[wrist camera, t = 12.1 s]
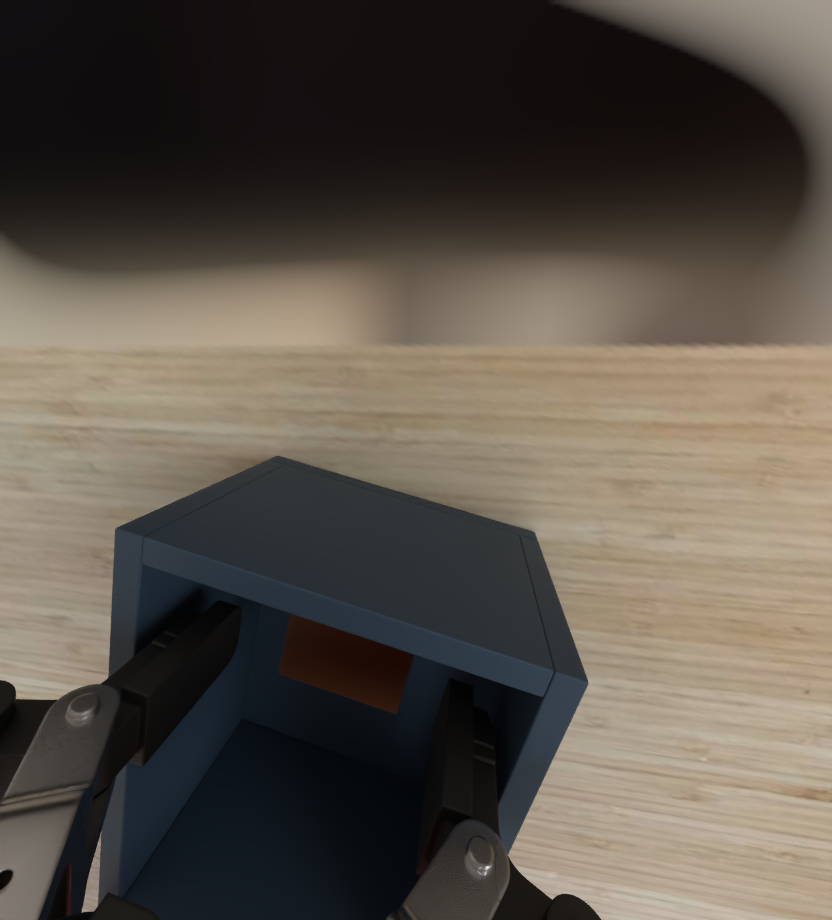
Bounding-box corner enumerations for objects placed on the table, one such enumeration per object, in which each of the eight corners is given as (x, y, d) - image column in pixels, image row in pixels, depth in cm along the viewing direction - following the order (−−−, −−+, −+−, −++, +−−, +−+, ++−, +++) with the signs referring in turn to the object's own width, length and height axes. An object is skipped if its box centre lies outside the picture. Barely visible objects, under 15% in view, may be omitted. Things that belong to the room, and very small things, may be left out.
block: (343, 516, 17) (298, 567, 13) (440, 546, 17) (428, 609, 12) (324, 601, 18) (277, 674, 14) (415, 630, 18) (396, 715, 13)
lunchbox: (277, 455, 18) (113, 528, 10) (535, 532, 17) (589, 683, 9) (235, 711, 22) (96, 910, 14) (440, 785, 21) (418, 1046, 13)
